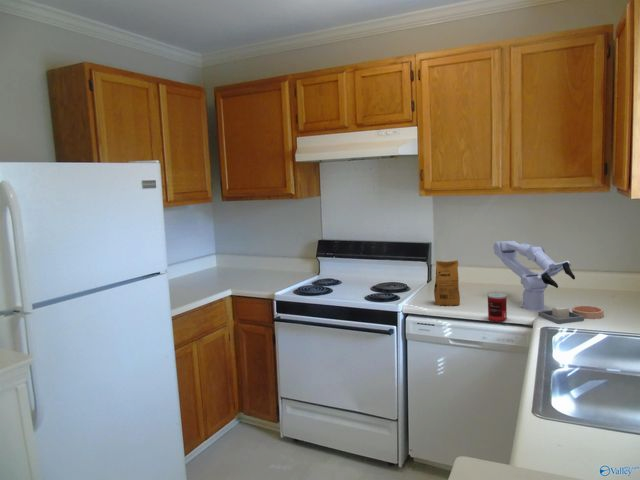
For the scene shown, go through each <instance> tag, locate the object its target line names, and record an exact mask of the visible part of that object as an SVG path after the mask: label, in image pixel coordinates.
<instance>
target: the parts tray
mask: <svg viewBox="0 0 640 480" xmlns="http://www.w3.org/2000/svg"><path fill="white" fill-rule="evenodd" d="M537 315H538V317H541V318H543V319H545V320H548V321H550V322H552V323H554V324H557V325H563V324H569V323H578V322H585V318H584V316H581V315H578V314H576V313H573V312H572V311H570V310H569V318H563V319H557V318H555V317H552V309H551V310H549V309H548V310H540V311H538V314H537Z"/></svg>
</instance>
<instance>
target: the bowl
mask: <svg viewBox="0 0 640 480" xmlns="http://www.w3.org/2000/svg"><path fill="white" fill-rule="evenodd" d="M571 312H573V313H576V314H578V315H581V316H584V320H585V319H586V320H588V319H589V320H597V319H602V318H604V316H605V314H604V313H605V312H604V309H603V308H601V307H597V306H592V305H577V306H576V305H575V306H573V307H572V308H571Z"/></svg>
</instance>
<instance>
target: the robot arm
mask: <svg viewBox="0 0 640 480" xmlns="http://www.w3.org/2000/svg"><path fill="white" fill-rule="evenodd" d="M517 252H518V254H519V255H520V256H524V257H526V259H527V260H528V261H532V262H534V263H535V264H536V265H537V266H538V267H540V269H541V270H542V272H541V273H538V272H534V271H532V270H530V269H529V268H527V267H526V266H525V265H524V264H523V263H521V261H519V260H517V259H516V258H517V257H518V256H517ZM493 253H494V254H495V256H496V257H498V258H499V259H500V260H501V262H502V263H503V265H505V266H506V267H507V268H508V269H509V270H511V271H512V273H514V274H516V276H518V278H520V284H521V285H522V286H523V288H524V290H523V291H522V305H521V306H520V307H521V308H523V309H527V310H530V311H531V312H532V311H533V312H536V311H547V310H548V308H547V307H545V291H546V289H547V288H548V286H549V285H550V286H552V287H554V288H556V289H559V284H558V283H557V282H556V281H555V280H554V279H553V278H552V277H554V276H556V275H558V274H559V273H560V272H561V271H562V270H563V271H564V274H565V275H567V276H569V277H570V278H571V279H572V280H576V276H575V274H574V273H573V271H572V270H571V267H572V263H571V262H570V261H569V260H566V261H561V262H557V263H556V262H555V261H554V260H553V259H552V258H551V257H549V256H548V255H547V253H546V251H545V249H544V248H543V246H541V245H539V246H534V244H529V243H528V242H523V243H518V242H517V241H516V240H506V241H505V240H504V241H495V242H494V243H493Z"/></svg>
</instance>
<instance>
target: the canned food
mask: <svg viewBox="0 0 640 480" xmlns="http://www.w3.org/2000/svg"><path fill="white" fill-rule="evenodd" d="M507 303H508V302H507V294H505V293H501V292H491V293H489V294H487V318H488V320H490V321H491V322H495V323H501V322H502V323H503V322H506V320H507V319H508V317H507V315H508V314H507V313H508V312H507V310H508V307H507Z"/></svg>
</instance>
